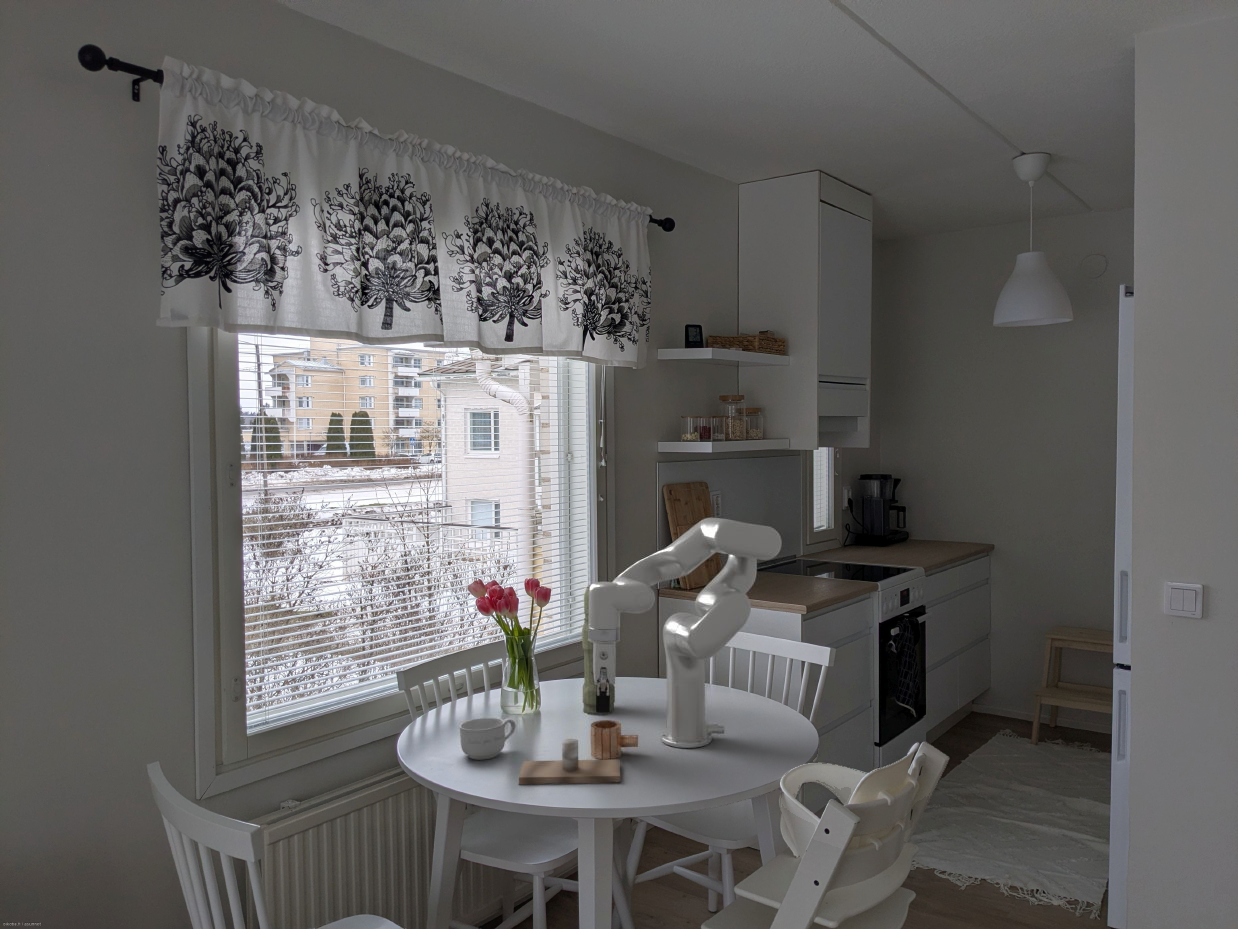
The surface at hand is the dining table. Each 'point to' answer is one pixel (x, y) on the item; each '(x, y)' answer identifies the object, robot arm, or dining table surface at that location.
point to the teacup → (484, 737)
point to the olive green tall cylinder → (591, 668)
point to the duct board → (570, 777)
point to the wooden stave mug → (609, 739)
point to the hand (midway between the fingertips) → (602, 706)
